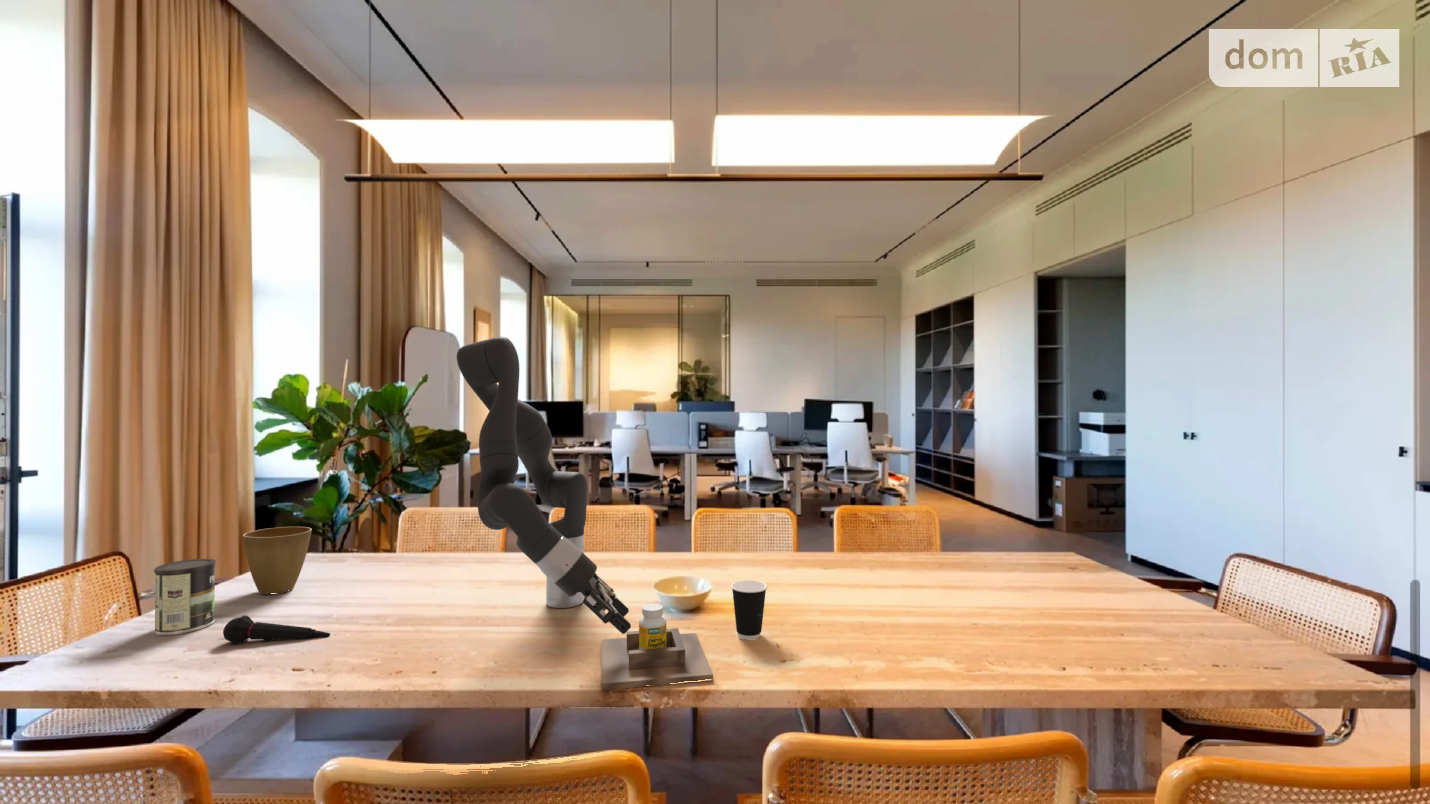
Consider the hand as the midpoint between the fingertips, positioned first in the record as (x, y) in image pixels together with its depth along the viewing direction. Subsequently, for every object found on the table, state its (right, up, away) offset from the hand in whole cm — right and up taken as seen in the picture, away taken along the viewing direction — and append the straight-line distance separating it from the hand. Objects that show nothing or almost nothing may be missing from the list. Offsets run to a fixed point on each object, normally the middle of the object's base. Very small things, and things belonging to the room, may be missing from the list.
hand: (626, 621), depth 114 cm
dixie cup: (+25, -9, +14) cm, 30 cm away
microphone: (-76, -8, +10) cm, 77 cm away
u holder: (+5, -8, +1) cm, 10 cm away
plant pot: (-101, -8, +44) cm, 110 cm away
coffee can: (-102, -8, +18) cm, 104 cm away
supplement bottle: (+5, -7, +1) cm, 9 cm away
